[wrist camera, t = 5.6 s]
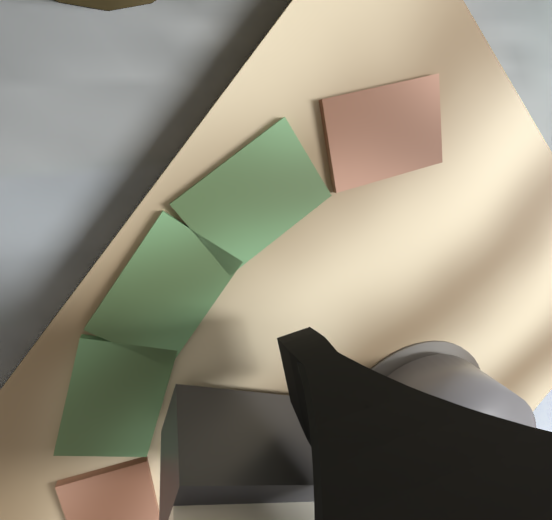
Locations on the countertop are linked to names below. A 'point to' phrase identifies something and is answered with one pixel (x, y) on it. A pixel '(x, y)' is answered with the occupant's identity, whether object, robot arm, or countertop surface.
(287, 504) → the peg dial
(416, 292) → the tuner board
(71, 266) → the countertop surface
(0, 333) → the countertop surface
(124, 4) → the cork
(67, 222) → the countertop surface
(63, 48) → the countertop surface
